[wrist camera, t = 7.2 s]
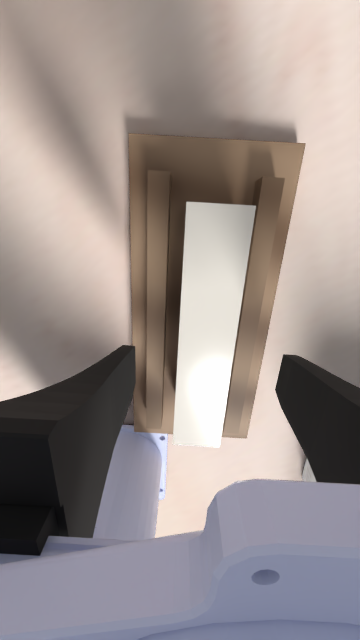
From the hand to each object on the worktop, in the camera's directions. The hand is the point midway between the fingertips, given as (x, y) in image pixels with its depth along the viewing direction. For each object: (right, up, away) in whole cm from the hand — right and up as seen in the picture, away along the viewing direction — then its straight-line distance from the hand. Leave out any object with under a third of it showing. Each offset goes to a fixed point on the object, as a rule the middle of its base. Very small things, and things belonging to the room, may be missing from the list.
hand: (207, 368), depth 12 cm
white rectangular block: (0, +3, +6) cm, 6 cm away
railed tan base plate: (0, +3, +7) cm, 7 cm away
